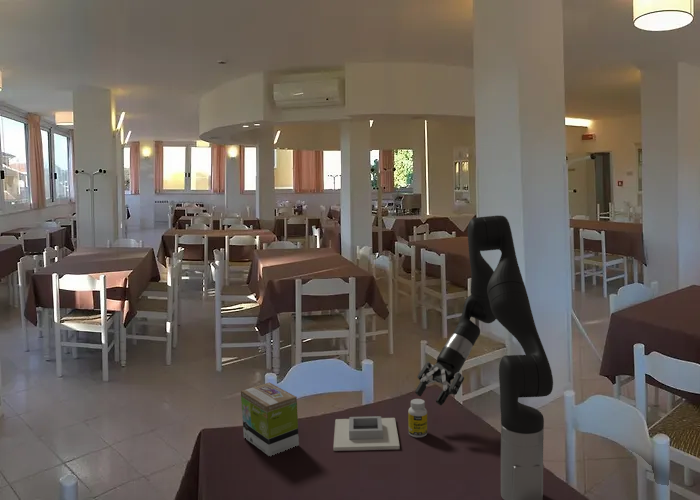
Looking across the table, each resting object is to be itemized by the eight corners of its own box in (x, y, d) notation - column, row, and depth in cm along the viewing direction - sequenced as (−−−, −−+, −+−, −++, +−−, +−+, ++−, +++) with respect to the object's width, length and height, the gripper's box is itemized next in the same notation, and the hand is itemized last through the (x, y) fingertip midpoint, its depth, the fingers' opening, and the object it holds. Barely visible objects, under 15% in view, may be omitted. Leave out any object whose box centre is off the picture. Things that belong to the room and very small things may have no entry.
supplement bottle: (412, 439, 158) (412, 406, 156) (405, 431, 163) (405, 399, 162) (430, 436, 159) (430, 403, 158) (422, 428, 164) (422, 396, 163)
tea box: (242, 438, 161) (239, 389, 159) (272, 428, 168) (270, 381, 166) (269, 458, 150) (266, 405, 148) (300, 446, 156) (298, 395, 154)
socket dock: (399, 449, 152) (399, 437, 152) (333, 450, 152) (333, 438, 152) (394, 420, 170) (394, 409, 170) (335, 422, 170) (335, 411, 170)
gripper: (431, 340, 171) (404, 385, 166) (467, 351, 160) (438, 400, 155) (444, 354, 175) (417, 398, 170) (479, 365, 164) (452, 413, 158)
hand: (427, 399), depth 162 cm, fingers open, 8 cm apart
